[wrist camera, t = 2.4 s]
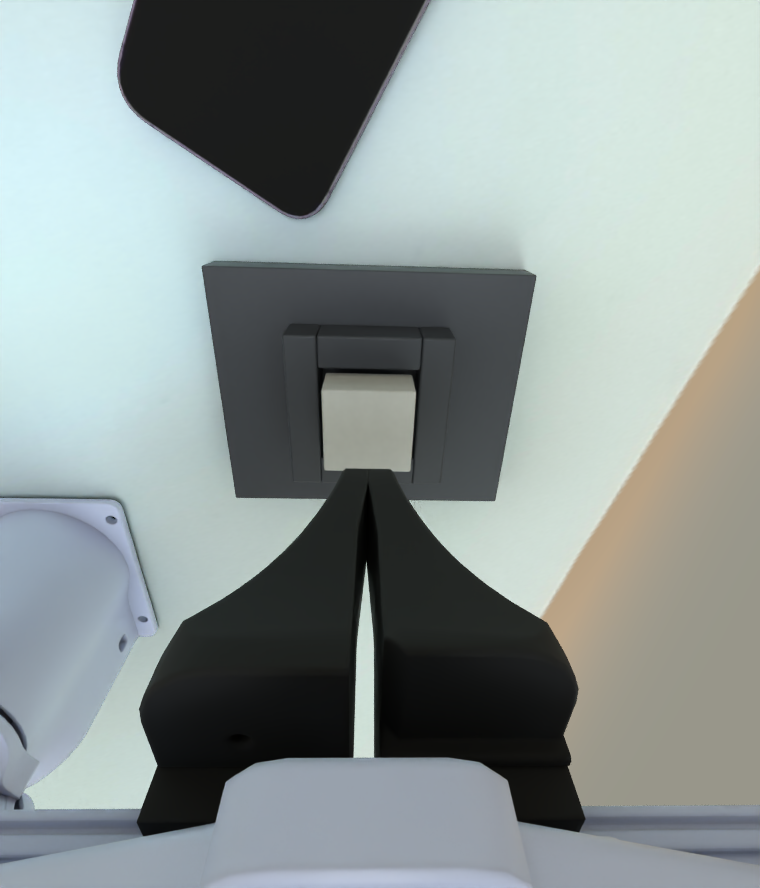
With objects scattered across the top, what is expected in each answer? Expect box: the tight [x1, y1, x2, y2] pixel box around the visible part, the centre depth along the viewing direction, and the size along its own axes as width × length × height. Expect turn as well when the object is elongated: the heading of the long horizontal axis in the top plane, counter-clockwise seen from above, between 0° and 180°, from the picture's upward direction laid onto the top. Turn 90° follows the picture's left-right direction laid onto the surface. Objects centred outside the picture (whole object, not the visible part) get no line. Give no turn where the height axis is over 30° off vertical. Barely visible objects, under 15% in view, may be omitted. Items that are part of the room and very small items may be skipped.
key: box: [321, 373, 416, 472], centre depth 17 cm, size 3×3×2 cm
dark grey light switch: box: [202, 261, 536, 501], centre depth 19 cm, size 10×12×3 cm
